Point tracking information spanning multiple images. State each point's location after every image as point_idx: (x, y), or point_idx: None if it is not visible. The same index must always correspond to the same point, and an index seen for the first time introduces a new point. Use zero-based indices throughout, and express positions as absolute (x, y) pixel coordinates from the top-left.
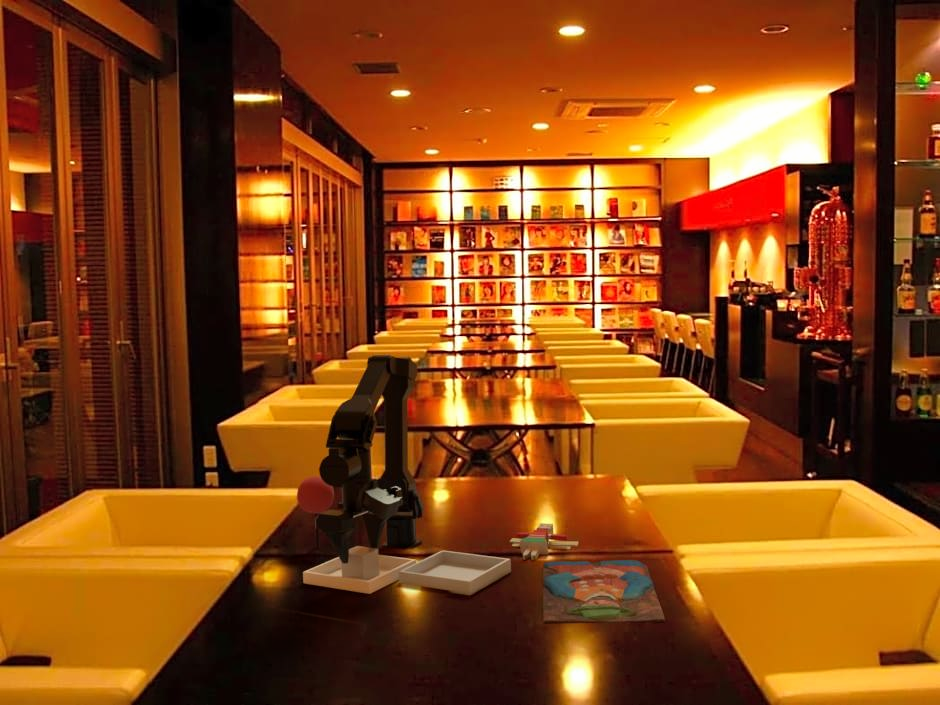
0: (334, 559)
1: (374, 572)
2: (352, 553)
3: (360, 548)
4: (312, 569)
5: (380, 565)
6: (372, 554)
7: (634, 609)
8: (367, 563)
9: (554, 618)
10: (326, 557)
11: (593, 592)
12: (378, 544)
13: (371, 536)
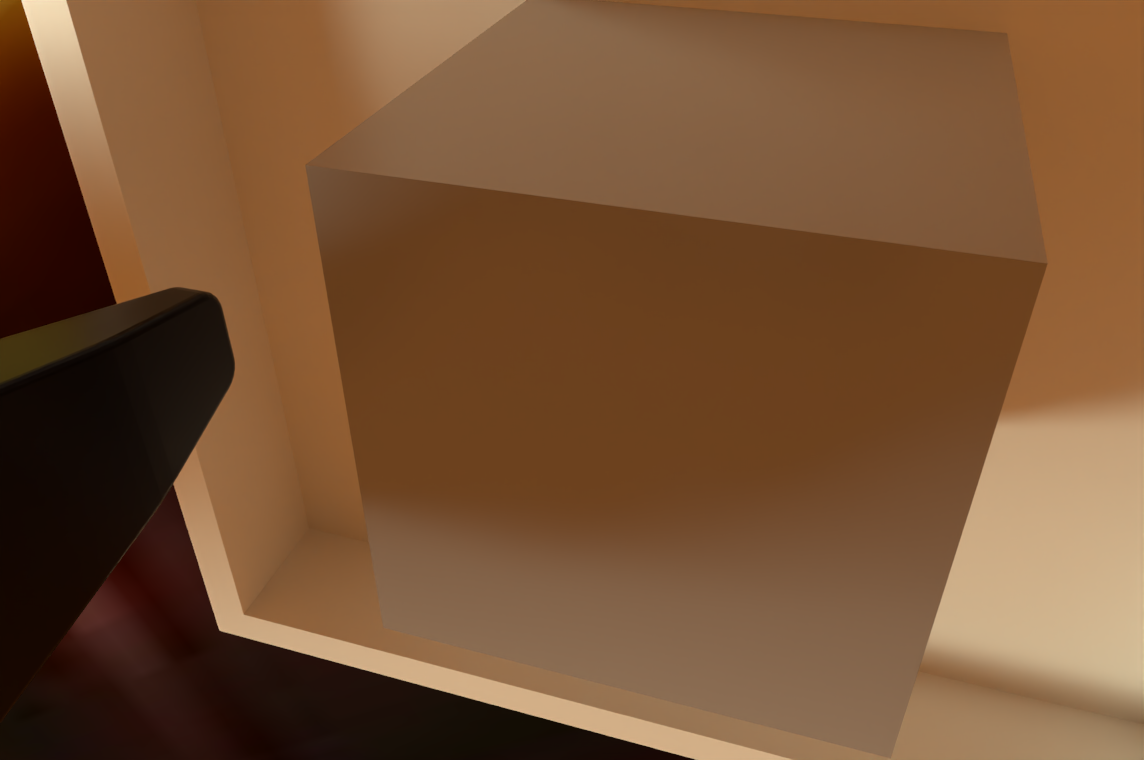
0: (573, 711)
1: (647, 27)
2: (900, 557)
3: (484, 528)
4: None
5: (230, 194)
6: (580, 164)
7: None
8: (827, 129)
9: None
10: (302, 754)
11: None
12: (84, 318)
13: (45, 546)
